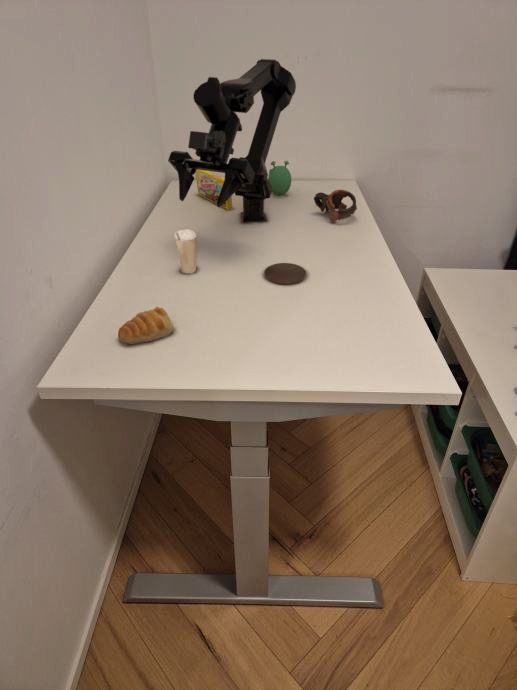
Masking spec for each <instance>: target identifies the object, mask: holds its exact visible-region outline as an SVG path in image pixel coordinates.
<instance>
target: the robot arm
mask: <svg viewBox="0 0 517 690" xmlns="http://www.w3.org/2000/svg"><path fill="white" fill-rule="evenodd" d="M296 89H297V83H296V79H295V78H294V76H293V74H292V72H290V70H288V69H286V68H285V67H284V66H282V65H281V63H280V62H279V61H278V60H276V59H271V58H261V59H258V60H257V61H256V64H254V65H253V66H252V67H251V68H250V69H249V70H247V71H246V72H245V73H244V74H243V75H241V76H239V77H238V78H233V79H228V80H224V81H222V82H220V80H219V78H218V77H215V76H208V78H207V81H205V82H203V83H201V84H200V85H199V86H198V87H197V88H196V89H195V90H194V92H193V101H194V103H195V104H196V106H197V108H198V110H199V111H200V113H201V114H202V116H203V118H204V119H205V120H206V122H208V123H209V124H210V128H209V130H208V132H205V131H204V132H203V131H196V130H195V131H193V130H190V131H189V138H188V146H187V147H188V148H189V150H190V149H192V150H194V151H195V155H196V157H198V158H199V159H194V158H193V157H192V156H191V155H190V153H189V152H188V151H182V150H173V151H171V152H170V153H169V156H168V159H167V162H168V163H169V164H170V165H171V166H172V167H173V169H174V170H175V171H176V172H177V176H178V192H179V193H178V194H179V197H178V198H179V200H180V201H181V202H184V201H185V199H186V197H187V196H188V193H189V192H190V189H191V186H192V185H193V182H194V180H195V176H194V175H196V169H198V170H206V171H211V172H213V173H221V174H224V178H225V180H224V183H223V186H222V189H221V192H220V194H219V197H218V201H217V204H216V207H217V208H222V207H221V206H222V205H223V204H224V203H225V202H226V201H227V200H228V199H229V198H230V197H231V196H232V197H233V195H235V196H236V197H242V211H241V212H240V217H241V220H242V223H259V222H267V221H268V219H267V216H266V214H265V200H266V199H270V198H271V195H272V193H273V192H272V186H271V184H270V182H269V180H268V177H269V172H268V170H267V169H268V168H267V166H266V161H267V158H268V155H269V151H270V149H271V145H272V142H273V138H274V135H275V132H276V128H277V125H278V122H279V118H280V115H281V112H282V111H284V110H285V109H286V108H287V107H288V106H290V103H291V101H292V99H293V96H294V95H295V93H296ZM259 92H260V95H261V97H262V98H261V99H262V107H261V110H260V114H259V117H258V120H257V124H256V126H255V130H254V133H253V136H252V140H251V143H250V147H249V149H248V153H247V155H246V156H245V157H241V156H240V157H239V158H238V157H231V158H229V157H230V155H234V153H235V149H234V147H233V146H234V142H235V139H236V136H237V133H238V132H242V131H243V126H242V123H241V119H240V117H239V116H238V114H237V113H240V114H247V113H248V112H249V111H250V110H251V109H252V107H253V105H254V104H255V96H256V95H257V94H258V93H259Z"/></svg>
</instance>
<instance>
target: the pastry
mask: <svg viewBox="0 0 517 690" xmlns="http://www.w3.org/2000/svg"><path fill="white" fill-rule="evenodd" d="M173 331H174V324H173V322H172V320H171V318H170V316H169V314H168V312H167V311H166V310H165V309H164V308H163V307H159V306H156V307H154V308H153V309H149V310H144V311H140V312H137V314H136V315H135V316H134V317H131V319H130V320H127V321H126V322H125V323H124V324H122V325H121V326H120V327H119V329H118V332H117V338H118V339H119V341H121V342H122V343H125V344H129V345H130V344H131V345H133V344H140V343H147V342H151V341H156V340H158V339H160V338H163V337H167V336H169V335H171V334H172V332H173Z"/></svg>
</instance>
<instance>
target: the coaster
mask: <svg viewBox="0 0 517 690" xmlns="http://www.w3.org/2000/svg"><path fill="white" fill-rule="evenodd" d="M263 275H264V278H265V279H266V280H267V281H269V282H270V283H272V284H276V285H282V286H290V285H295V284H299V283H301V282H303V281H304V280H305V279H306V278H307V271H306V269H305V268H304V267H302V266H301V265H298V264H296V263H291V262H278V263H274V264H271V265H269V266H267V267H265V270H264V274H263Z"/></svg>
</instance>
